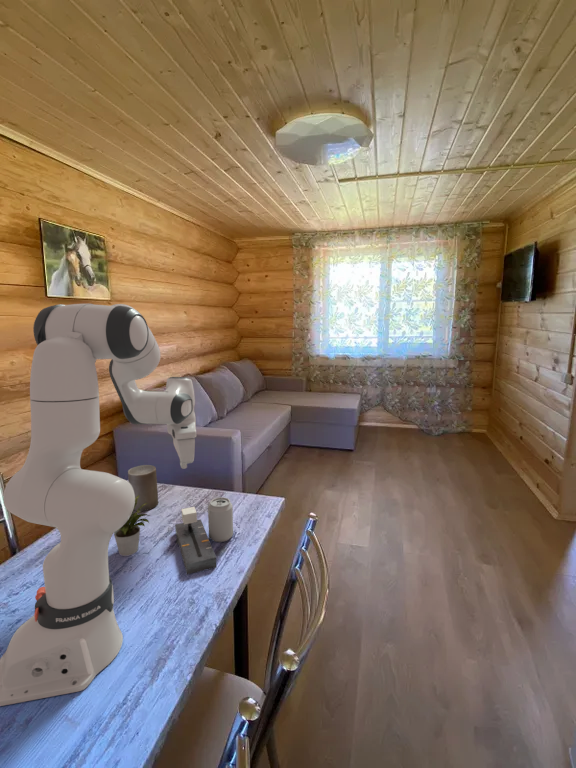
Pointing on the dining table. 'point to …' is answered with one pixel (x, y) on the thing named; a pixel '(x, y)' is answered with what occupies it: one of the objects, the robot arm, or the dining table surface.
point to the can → (220, 519)
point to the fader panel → (195, 547)
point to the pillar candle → (144, 486)
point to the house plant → (130, 533)
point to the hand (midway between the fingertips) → (183, 467)
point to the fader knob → (189, 515)
